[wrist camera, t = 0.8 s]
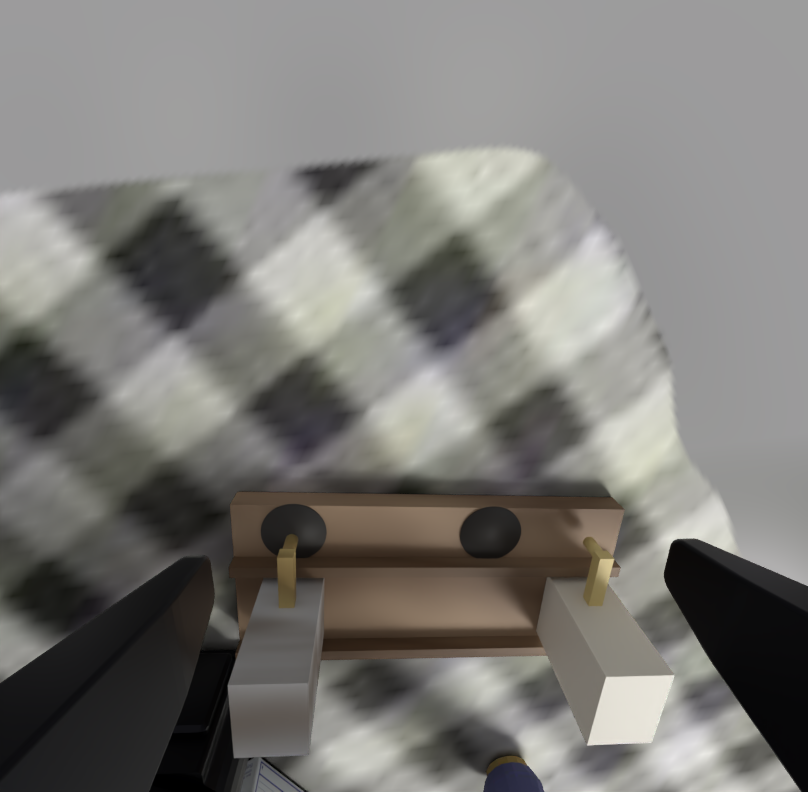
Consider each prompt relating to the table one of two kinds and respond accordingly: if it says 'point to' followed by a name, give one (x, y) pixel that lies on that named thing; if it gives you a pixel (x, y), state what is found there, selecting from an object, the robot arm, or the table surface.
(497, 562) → the wooden peg rack
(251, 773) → the medicine box
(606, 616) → the slider
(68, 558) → the table surface
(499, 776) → the rubber mallet
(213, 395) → the table surface
